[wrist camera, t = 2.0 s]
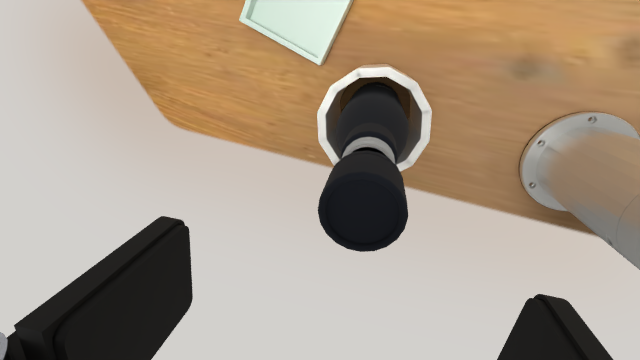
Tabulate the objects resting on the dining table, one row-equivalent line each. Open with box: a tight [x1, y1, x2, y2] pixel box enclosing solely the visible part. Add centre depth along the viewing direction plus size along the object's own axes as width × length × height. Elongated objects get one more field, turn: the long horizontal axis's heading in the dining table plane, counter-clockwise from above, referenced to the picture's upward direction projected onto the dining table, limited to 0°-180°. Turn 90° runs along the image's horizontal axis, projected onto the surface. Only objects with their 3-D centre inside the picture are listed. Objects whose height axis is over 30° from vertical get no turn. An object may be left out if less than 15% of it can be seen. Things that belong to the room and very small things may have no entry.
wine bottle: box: [318, 82, 409, 252], centre depth 27 cm, size 6×6×30 cm
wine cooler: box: [317, 64, 432, 171], centre depth 35 cm, size 11×11×12 cm
